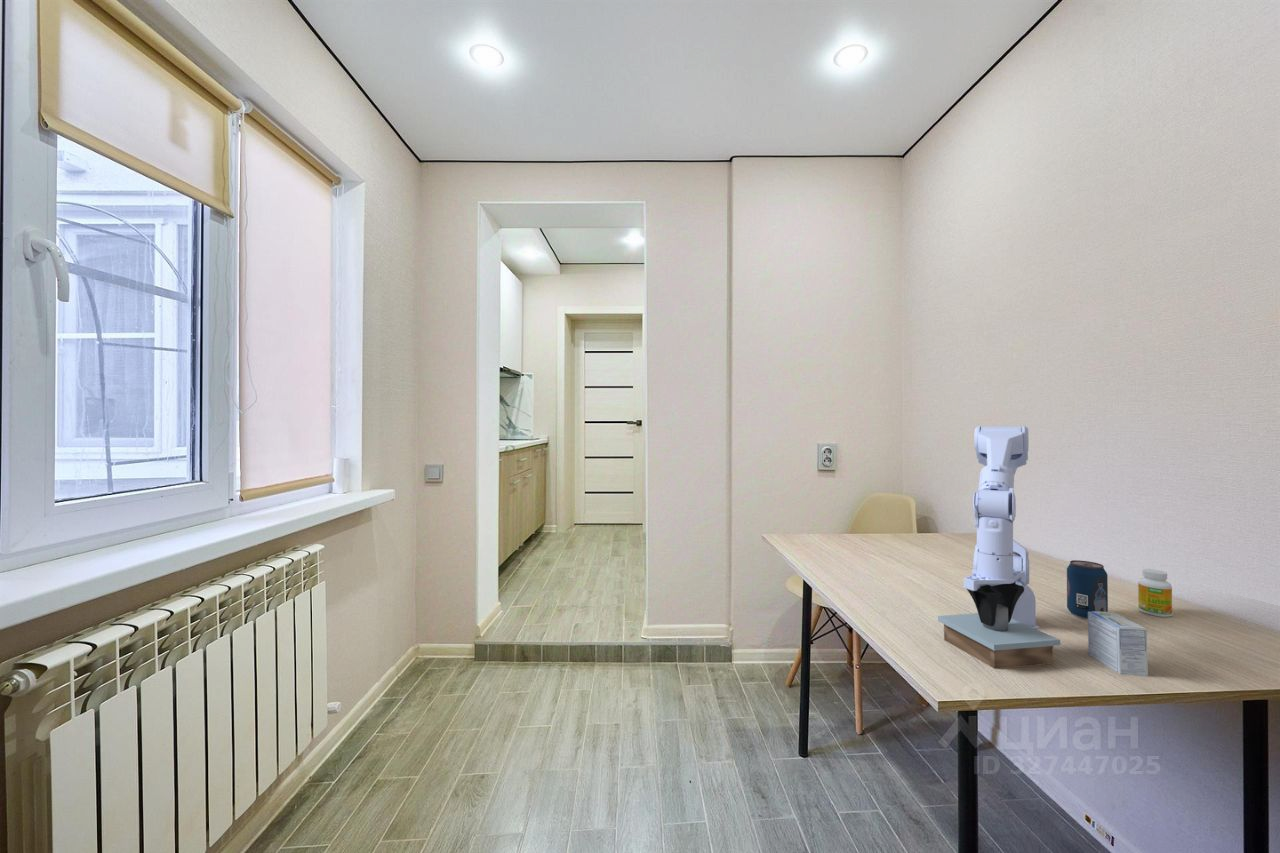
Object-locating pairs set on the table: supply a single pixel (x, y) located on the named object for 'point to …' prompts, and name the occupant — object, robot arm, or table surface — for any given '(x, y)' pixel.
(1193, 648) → the table surface
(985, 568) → the robot arm
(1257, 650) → the table surface
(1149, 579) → the supplement bottle
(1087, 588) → the soda can
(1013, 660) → the storage box
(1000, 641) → the lid
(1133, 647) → the medicine box
